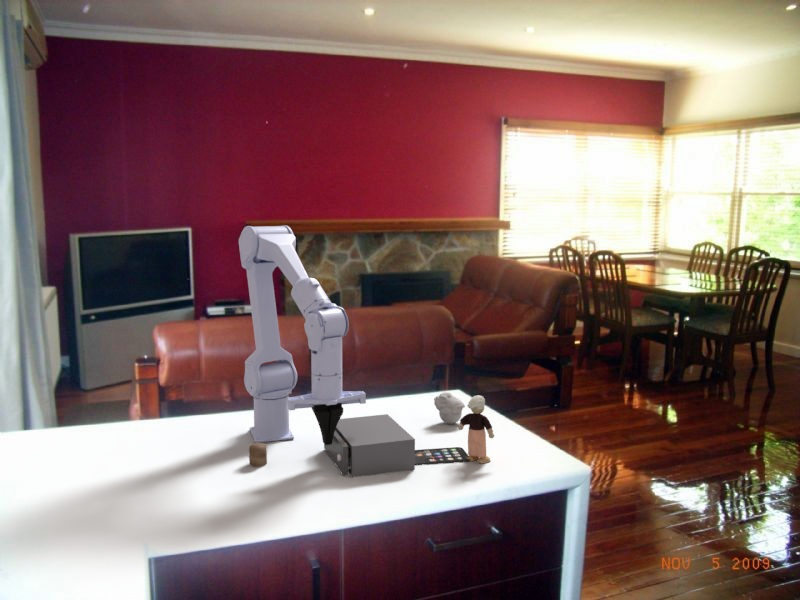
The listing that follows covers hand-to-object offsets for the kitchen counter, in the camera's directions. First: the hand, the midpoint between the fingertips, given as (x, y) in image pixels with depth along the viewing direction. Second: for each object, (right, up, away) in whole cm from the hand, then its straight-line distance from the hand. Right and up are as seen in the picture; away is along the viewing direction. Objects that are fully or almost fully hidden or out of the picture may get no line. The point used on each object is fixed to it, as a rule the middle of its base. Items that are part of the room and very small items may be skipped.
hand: (327, 443), depth 130 cm
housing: (+8, -4, +3) cm, 9 cm away
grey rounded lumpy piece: (+25, -1, +25) cm, 35 cm away
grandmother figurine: (+28, -4, +3) cm, 29 cm away
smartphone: (+19, -4, +4) cm, 20 cm away
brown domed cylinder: (-13, -4, 0) cm, 14 cm away
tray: (+6, -3, +3) cm, 8 cm away
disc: (+5, -2, +2) cm, 6 cm away
